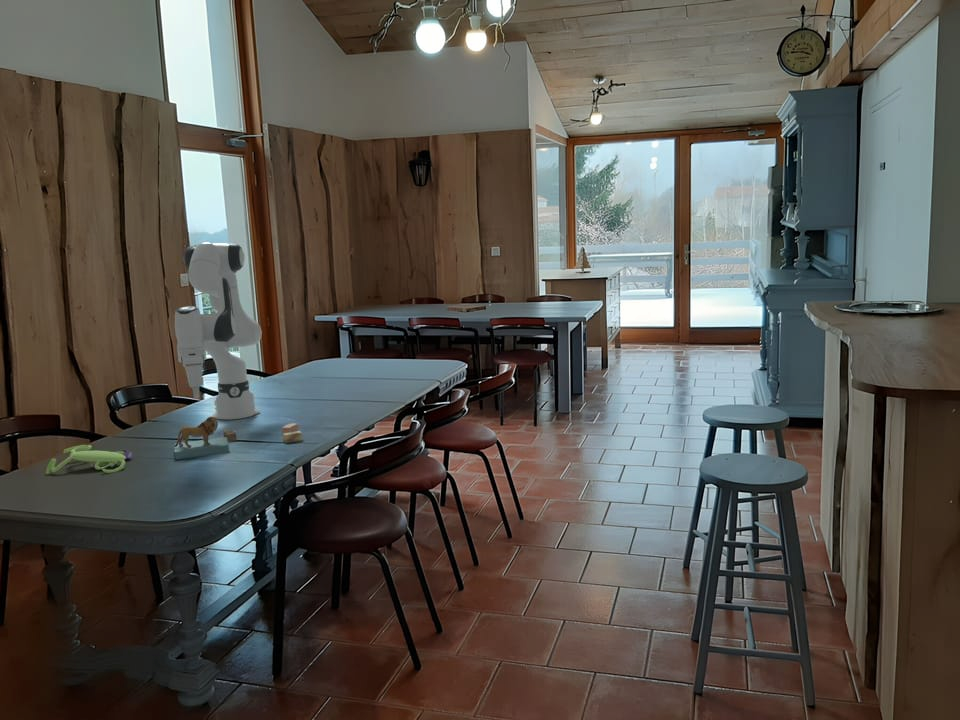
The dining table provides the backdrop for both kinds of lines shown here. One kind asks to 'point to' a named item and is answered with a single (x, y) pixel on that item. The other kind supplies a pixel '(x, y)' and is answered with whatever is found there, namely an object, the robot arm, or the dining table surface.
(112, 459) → the figurine
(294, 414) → the dining table surface
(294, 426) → the terracotta brick
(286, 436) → the oak brick
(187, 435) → the lion figurine
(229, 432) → the walnut brick
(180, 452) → the teal slab
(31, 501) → the dining table surface
